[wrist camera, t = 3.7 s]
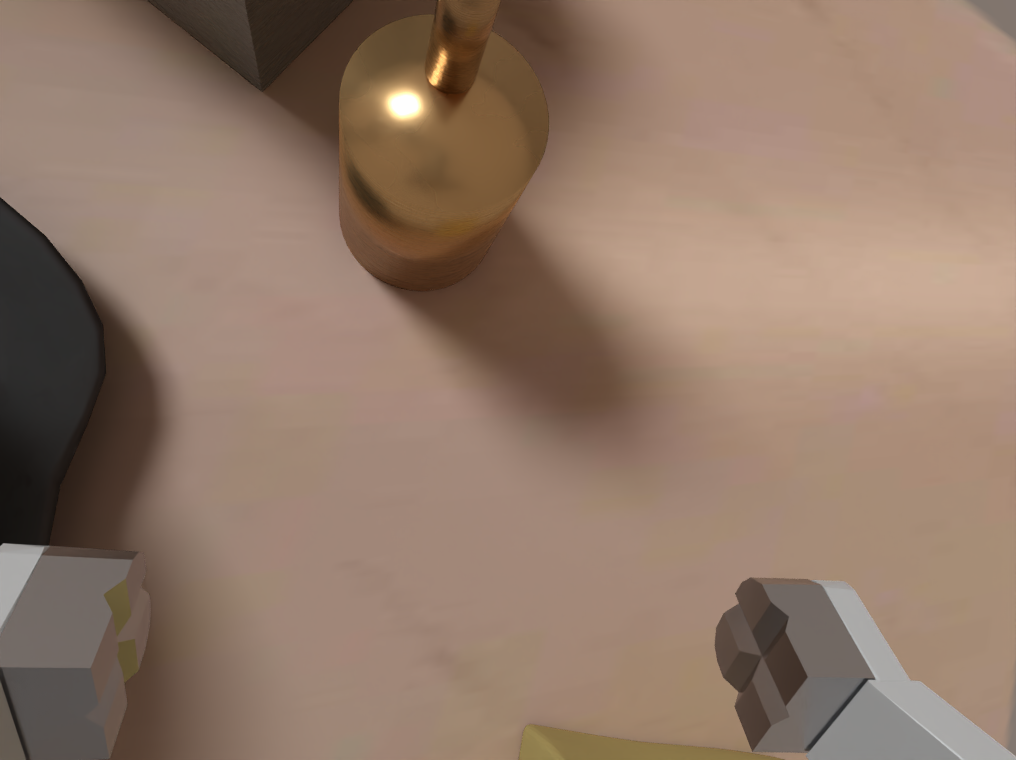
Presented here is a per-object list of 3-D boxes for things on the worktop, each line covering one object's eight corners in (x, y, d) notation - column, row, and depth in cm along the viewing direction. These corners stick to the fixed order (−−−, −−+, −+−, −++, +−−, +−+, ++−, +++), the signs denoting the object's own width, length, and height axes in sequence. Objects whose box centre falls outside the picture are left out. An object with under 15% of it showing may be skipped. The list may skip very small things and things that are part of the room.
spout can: (488, 299, 27) (594, 158, 15) (331, 280, 25) (325, 112, 14) (497, 157, 28) (603, -72, 16) (347, 132, 26) (352, -132, 15)
